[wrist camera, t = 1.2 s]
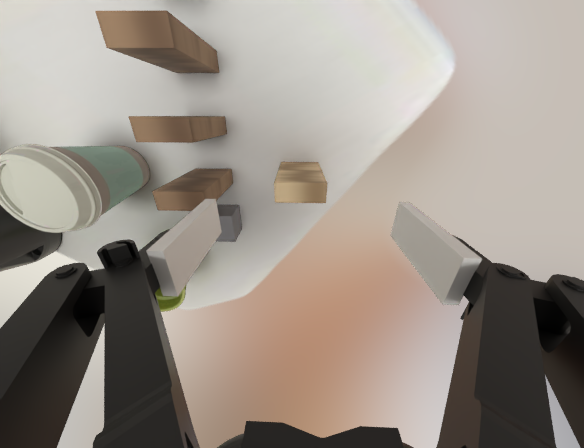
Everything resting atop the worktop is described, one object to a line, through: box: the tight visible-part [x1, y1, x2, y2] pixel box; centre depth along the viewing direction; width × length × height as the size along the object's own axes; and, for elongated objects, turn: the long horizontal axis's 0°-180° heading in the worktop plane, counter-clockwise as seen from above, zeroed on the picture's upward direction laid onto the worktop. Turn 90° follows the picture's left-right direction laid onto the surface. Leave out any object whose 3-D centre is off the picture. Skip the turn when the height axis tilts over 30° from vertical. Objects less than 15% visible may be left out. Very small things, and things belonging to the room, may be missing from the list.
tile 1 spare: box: [274, 162, 327, 203], centre depth 25 cm, size 5×2×10 cm, turn 90°
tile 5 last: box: [152, 169, 233, 211], centre depth 25 cm, size 5×2×10 cm, turn 90°
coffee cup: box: [0, 144, 150, 233], centre depth 24 cm, size 8×8×12 cm
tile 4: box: [129, 116, 227, 143], centre depth 22 cm, size 5×2×10 cm, turn 90°
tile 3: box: [96, 11, 219, 73], centre depth 19 cm, size 5×2×10 cm, turn 90°
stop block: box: [216, 205, 242, 242], centre depth 31 cm, size 6×4×4 cm, turn 90°
